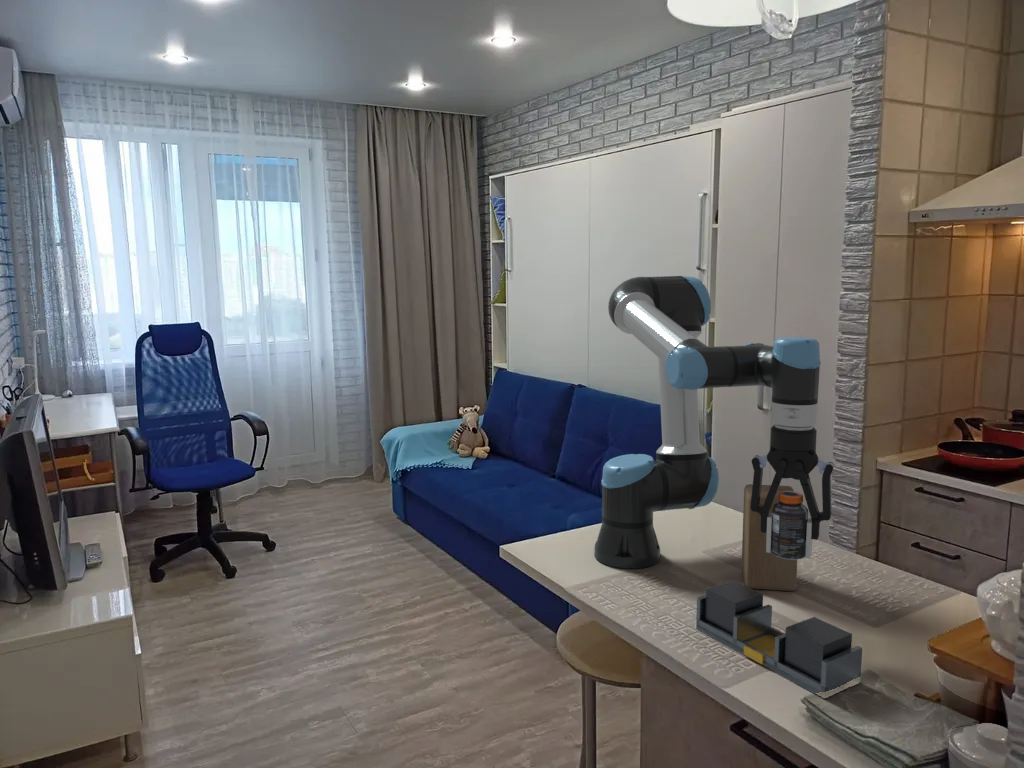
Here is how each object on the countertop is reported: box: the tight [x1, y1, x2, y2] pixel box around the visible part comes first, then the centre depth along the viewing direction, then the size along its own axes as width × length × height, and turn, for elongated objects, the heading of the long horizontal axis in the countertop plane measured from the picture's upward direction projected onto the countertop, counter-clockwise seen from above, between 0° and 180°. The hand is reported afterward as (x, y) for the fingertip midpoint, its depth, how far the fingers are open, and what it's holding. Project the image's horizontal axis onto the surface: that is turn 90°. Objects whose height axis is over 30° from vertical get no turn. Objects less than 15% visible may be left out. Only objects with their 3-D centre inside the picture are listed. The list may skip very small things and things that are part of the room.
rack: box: [695, 580, 863, 694], centre depth 126 cm, size 27×9×8 cm, turn 31°
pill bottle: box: [772, 490, 809, 561], centre depth 132 cm, size 6×6×11 cm
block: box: [741, 483, 798, 592], centre depth 155 cm, size 10×10×20 cm
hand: (788, 552), depth 132 cm, fingers closed on pill bottle, 6 cm apart
